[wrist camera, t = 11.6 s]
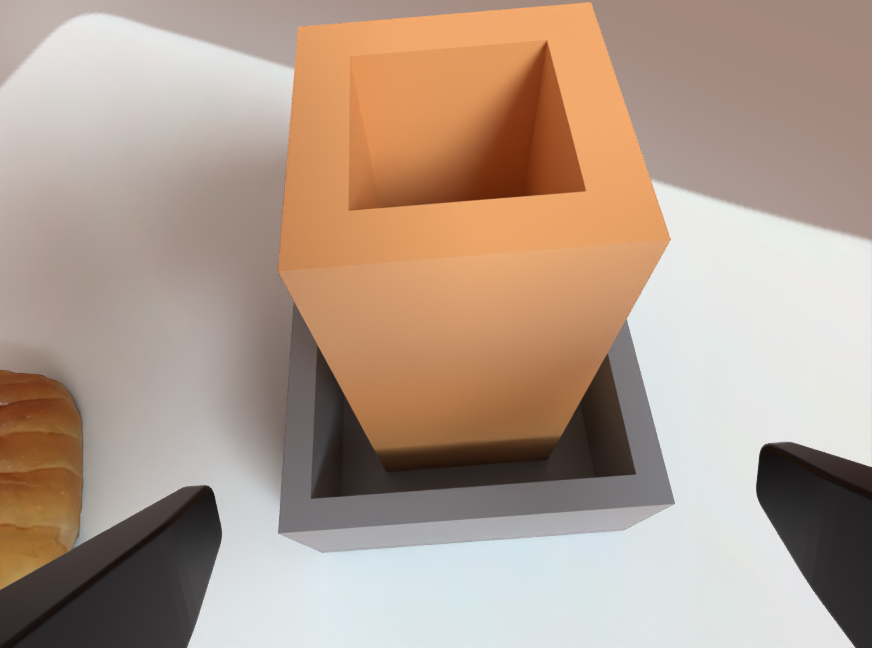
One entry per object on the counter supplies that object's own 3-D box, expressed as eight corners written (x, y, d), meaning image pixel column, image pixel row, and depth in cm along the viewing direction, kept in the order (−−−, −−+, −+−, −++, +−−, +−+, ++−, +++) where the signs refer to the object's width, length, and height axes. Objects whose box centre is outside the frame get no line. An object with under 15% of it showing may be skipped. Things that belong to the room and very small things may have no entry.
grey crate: (623, 530, 18) (675, 503, 14) (322, 552, 18) (278, 533, 14) (569, 276, 23) (594, 196, 19) (330, 294, 23) (299, 220, 19)
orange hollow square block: (548, 459, 19) (670, 239, 8) (386, 472, 19) (278, 271, 8) (524, 317, 21) (590, 2, 10) (382, 328, 21) (298, 26, 10)
